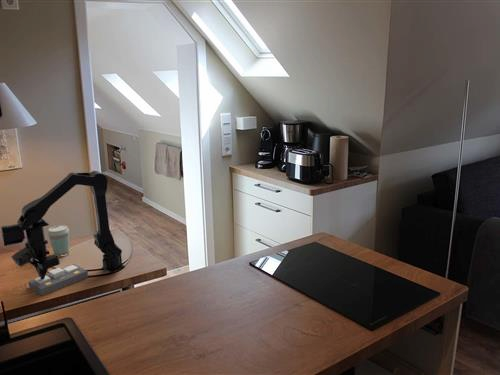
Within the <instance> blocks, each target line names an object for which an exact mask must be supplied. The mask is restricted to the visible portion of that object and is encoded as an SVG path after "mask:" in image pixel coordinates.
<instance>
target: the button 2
mask: <svg viewBox="0 0 500 375" xmlns="http://www.w3.org/2000/svg"><path fill="white" fill-rule="evenodd" d="M67 266H68V267H67ZM67 266H65V267H66V268H65V267H62V268H63V270H64V272H66V273H68V274H69V273H71V272H74V271H77V270H78V267H76V266H74V265H73V264H71V266H70V265H67Z"/></svg>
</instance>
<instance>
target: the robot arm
mask: <svg viewBox="0 0 500 375" xmlns="http://www.w3.org/2000/svg"><path fill="white" fill-rule="evenodd" d="M108 184H109V182H108V177H107V176H106V175H105V174H104V173H102V172H100V171H99V170H92V171H90V172H73V171H72V172H69V173H68V174H67V175H66V176H65V177H64V178H63V179H62V180H60V181H59V182H58V183H56V184H55V186H53V187H52V188H51V189H49V190H48V191H47V192H46V193H45V194H44V195H42V196H41V197H38V198H37V199H34V200H32V201H30V202H29V203H27V204H25V205H24V206H23V207H22V208H21V215H20V217H18V218H19V219H18V220H17V221H16V224H10V225H3V226H1V227H0V229H1V239H2V244H3V246H4V247H7V246H12V245H18V244H21V243H23V242H24V241H25V239H26V242H25V243H24V248H22V249H19V250H18V251H17V252H16V253H14V254H13V255H11V259H12V260H13V261H14V263H15V265H17V266H19V267H23V266H24V265H26V264H27V263H28V264H30V265H31V266H33V267H34V269H35V271H36V273H37V274H38V277H40V278H41V279H44V278H45V275H46V274H48V271H49V269H51V268H53V267H56V266H58V265H61V263H60V258H59V257H56V256H55V255H54V254H53V255H52V254H51V253H50V251H49V250H47V244H48V243H49V242H48V240H46V237H45V231H44V227H47V226H49V222H48V221H47V220H44V218H43V217H44V216H45V215H46V214H47V212H48V210H49V209H50V208H51V206H53V205H54V204H55V203H56V202H57V201H59V200H60V199H61V198H62V197H63V196H65V195H66V194H67V193H68V192H70V191H71V190H72V189H73V188H74V187H75V186H78V185H81V186H85V187H86V186H87V187H89V189H90V191H91V193H92V196H93V202H94V209H95V210H94V211H95V219H96V226H97V232H96V233H93V239H94V243H93V245H95V246H96V247H97V249H99V251H101V253H102V267H101V269H104V270H105V271H106V272H109V273H113V272H115V271H117V270H118V271H119V270H120V269H123V268H124V267H125V265H124V264H123V260H122V252H123V250H122V249H121V248H120V247H119V246H118V245H117V244H116V242H115V239H114V237H113V235H112V231H111V229H110V224H109V223H110V221H109V214H108V213H109V212H108V205H107V198H106V197H107V196H106V195H107V192H108V191H107V190H108ZM50 254H51V255H50Z"/></svg>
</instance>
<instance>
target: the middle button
mask: <svg viewBox="0 0 500 375" xmlns="http://www.w3.org/2000/svg"><path fill="white" fill-rule="evenodd" d="M48 274H49V276H50V277H52V278H54V279H56V278H59V277H61V276H64V275H65V272H64V270H63V269H62V268H61V267H57V268H54V269H51V270H48Z"/></svg>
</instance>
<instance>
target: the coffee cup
mask: <svg viewBox="0 0 500 375" xmlns="http://www.w3.org/2000/svg"><path fill="white" fill-rule="evenodd" d="M69 232H70V229H69V228H68V226H67V225H65V224H64V225H63V224H62V225H54V226H51V227H49V228H48V230H47V236H48V238H49V241H50V244H51V248H52V251H53V256H54V257H56V256H61V255H65V254H68V253H70V244H69V243H70V241H69V238H70V237H69ZM68 255H69V254H68Z"/></svg>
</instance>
